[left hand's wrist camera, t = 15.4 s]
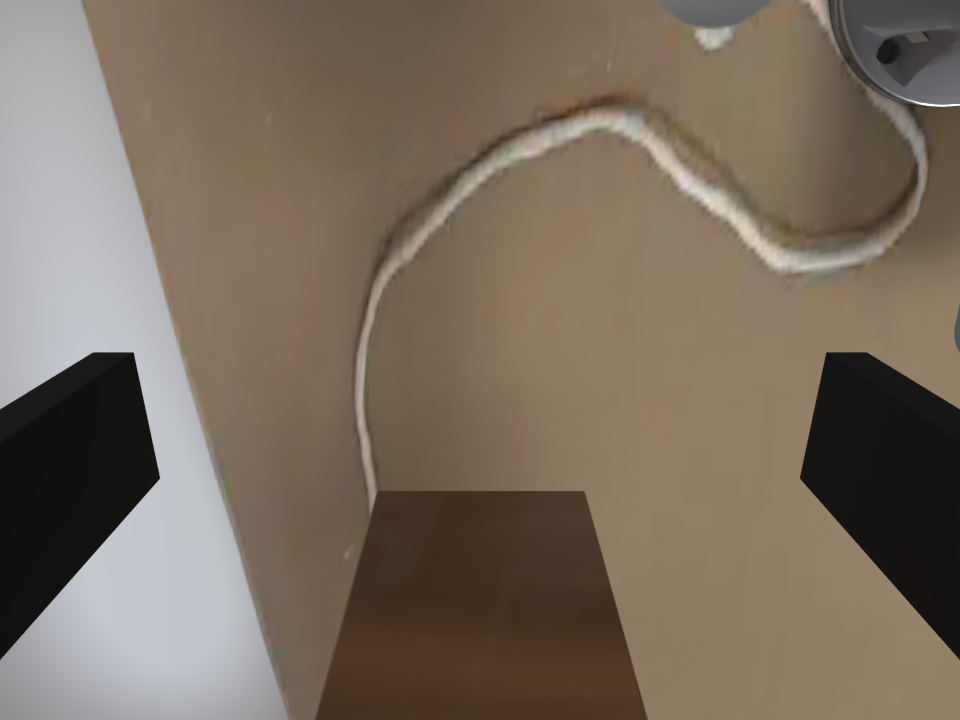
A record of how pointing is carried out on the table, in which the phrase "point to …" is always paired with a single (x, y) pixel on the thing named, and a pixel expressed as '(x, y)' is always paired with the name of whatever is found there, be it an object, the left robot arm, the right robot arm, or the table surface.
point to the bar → (481, 614)
